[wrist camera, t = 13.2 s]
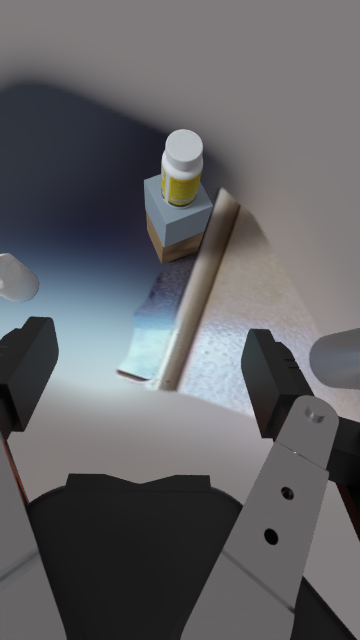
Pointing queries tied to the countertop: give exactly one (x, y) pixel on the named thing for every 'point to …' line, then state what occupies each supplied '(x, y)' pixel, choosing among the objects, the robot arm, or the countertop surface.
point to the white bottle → (16, 280)
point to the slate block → (176, 213)
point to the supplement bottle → (181, 168)
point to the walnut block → (173, 245)
